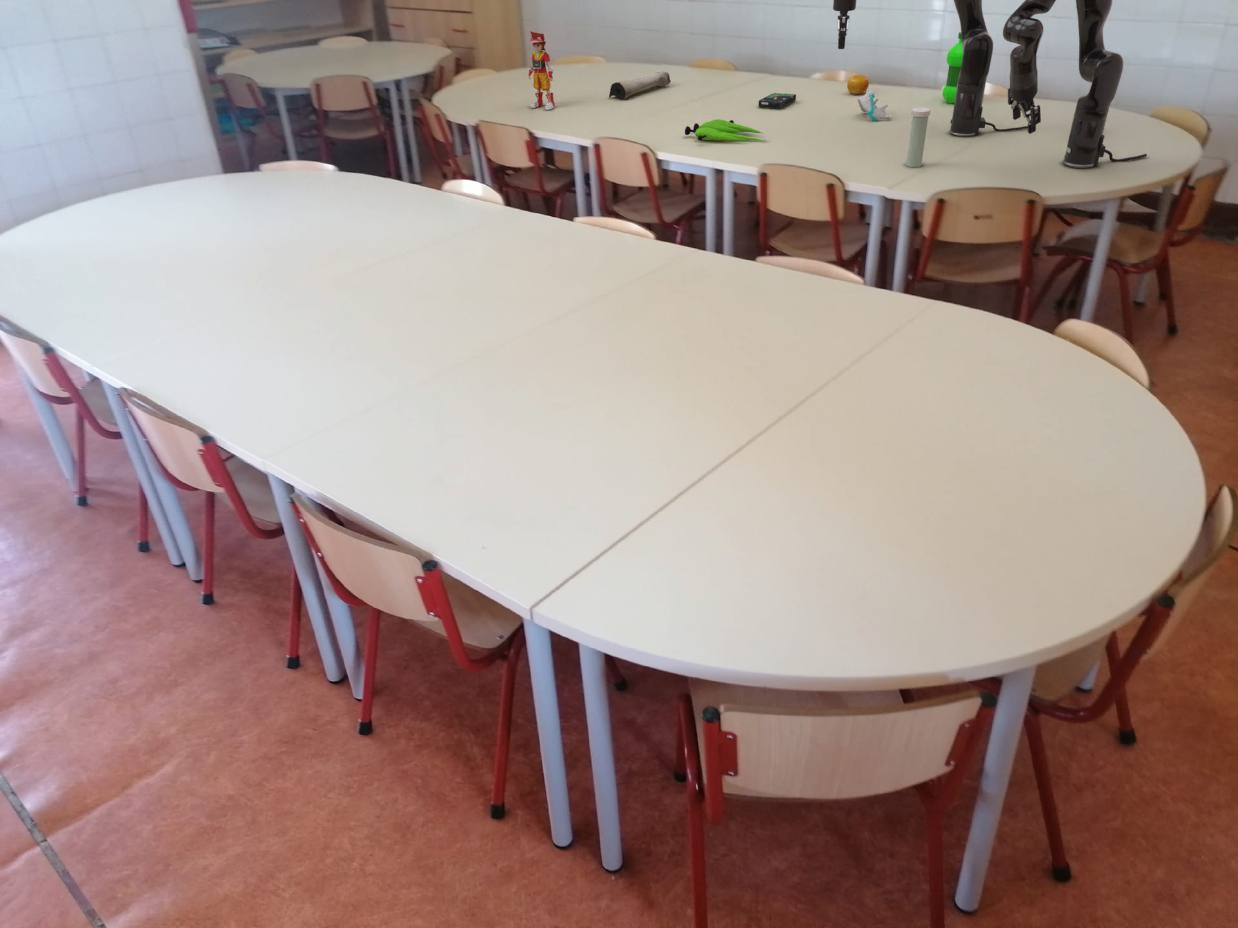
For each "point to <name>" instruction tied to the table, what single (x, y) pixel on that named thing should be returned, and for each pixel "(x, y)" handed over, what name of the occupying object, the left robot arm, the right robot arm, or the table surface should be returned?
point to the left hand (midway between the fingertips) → (841, 46)
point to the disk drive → (777, 100)
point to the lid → (920, 112)
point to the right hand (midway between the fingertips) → (1024, 125)
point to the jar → (917, 141)
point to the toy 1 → (541, 71)
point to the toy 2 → (721, 131)
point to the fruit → (857, 84)
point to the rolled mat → (638, 84)
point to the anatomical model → (872, 107)
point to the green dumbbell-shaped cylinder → (953, 70)
